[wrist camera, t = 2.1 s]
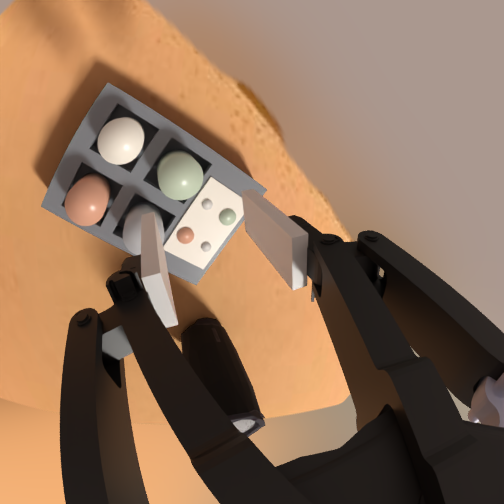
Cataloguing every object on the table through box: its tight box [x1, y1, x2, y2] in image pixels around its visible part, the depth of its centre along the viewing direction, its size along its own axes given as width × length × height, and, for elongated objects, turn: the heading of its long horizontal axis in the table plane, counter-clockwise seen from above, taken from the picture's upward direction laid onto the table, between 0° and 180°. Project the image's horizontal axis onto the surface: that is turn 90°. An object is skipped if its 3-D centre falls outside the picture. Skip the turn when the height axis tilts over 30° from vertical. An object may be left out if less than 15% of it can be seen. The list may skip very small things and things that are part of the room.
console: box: [41, 83, 267, 285], centre depth 30 cm, size 22×15×5 cm
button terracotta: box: [65, 173, 111, 226], centre depth 25 cm, size 4×4×4 cm
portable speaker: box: [181, 318, 265, 437], centre depth 38 cm, size 9×9×20 cm
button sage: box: [157, 150, 203, 200], centre depth 27 cm, size 4×4×4 cm
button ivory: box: [98, 117, 145, 165], centre depth 23 cm, size 4×4×4 cm
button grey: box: [123, 202, 165, 255], centre depth 29 cm, size 4×4×4 cm
